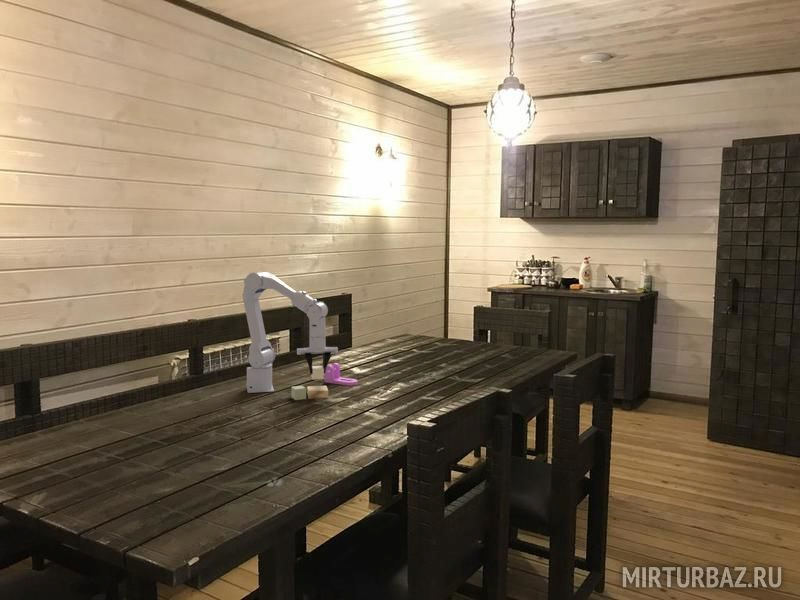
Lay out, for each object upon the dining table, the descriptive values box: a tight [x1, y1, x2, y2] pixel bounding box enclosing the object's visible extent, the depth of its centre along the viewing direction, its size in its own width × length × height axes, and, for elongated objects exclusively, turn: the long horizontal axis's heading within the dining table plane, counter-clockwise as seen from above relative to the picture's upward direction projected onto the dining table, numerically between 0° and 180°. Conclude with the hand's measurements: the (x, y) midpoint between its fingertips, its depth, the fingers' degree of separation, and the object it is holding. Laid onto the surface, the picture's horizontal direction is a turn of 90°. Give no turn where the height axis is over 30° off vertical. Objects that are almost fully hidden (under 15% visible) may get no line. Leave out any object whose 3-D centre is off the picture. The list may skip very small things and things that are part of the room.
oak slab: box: [306, 385, 329, 400], centre depth 231 cm, size 7×7×3 cm
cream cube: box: [310, 365, 324, 380], centre depth 230 cm, size 4×4×4 cm
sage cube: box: [290, 385, 307, 401], centre depth 227 cm, size 4×4×4 cm
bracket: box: [323, 362, 358, 386], centre depth 250 cm, size 13×6×7 cm, turn 62°
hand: (317, 373), depth 230 cm, fingers closed on cream cube, 4 cm apart
